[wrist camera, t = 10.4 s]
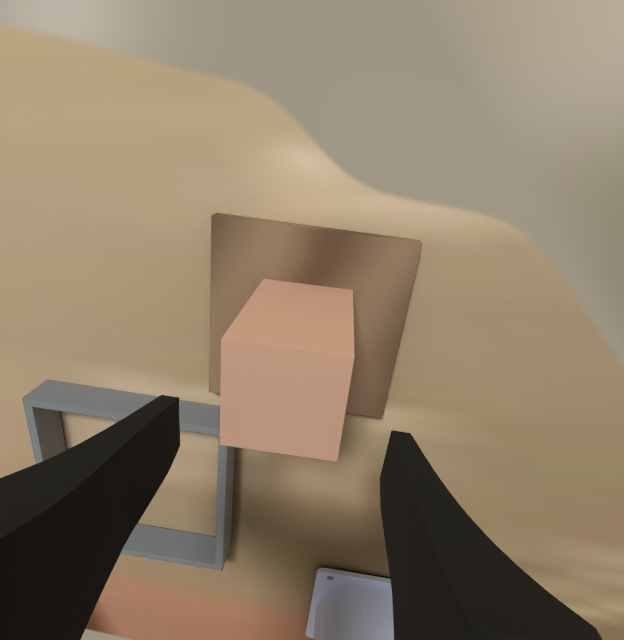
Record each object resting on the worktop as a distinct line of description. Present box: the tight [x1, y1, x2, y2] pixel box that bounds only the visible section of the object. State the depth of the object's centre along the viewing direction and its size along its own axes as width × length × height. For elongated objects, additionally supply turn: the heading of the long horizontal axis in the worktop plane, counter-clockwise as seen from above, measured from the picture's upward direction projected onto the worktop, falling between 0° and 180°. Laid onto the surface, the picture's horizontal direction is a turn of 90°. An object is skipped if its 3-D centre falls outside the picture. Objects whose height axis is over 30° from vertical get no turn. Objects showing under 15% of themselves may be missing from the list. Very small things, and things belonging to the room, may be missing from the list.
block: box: [220, 279, 355, 462], centre depth 17 cm, size 4×4×7 cm
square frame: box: [22, 380, 235, 571], centre depth 25 cm, size 12×12×2 cm
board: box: [209, 213, 422, 418], centre depth 21 cm, size 10×10×1 cm
